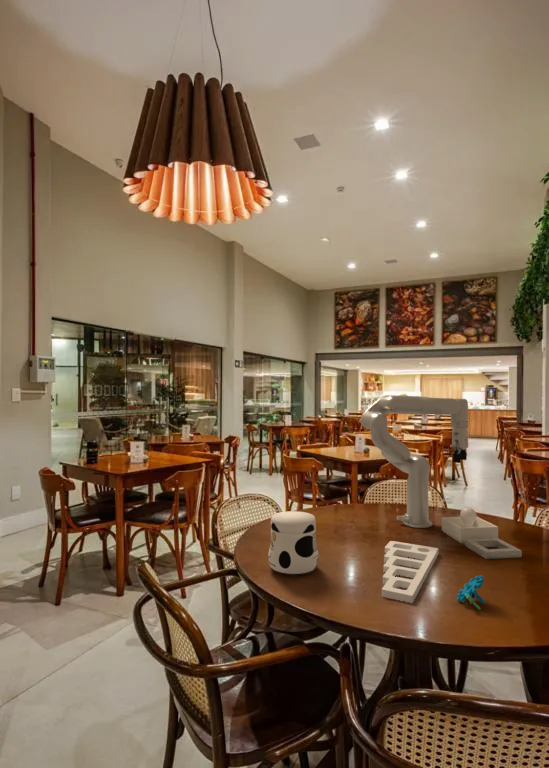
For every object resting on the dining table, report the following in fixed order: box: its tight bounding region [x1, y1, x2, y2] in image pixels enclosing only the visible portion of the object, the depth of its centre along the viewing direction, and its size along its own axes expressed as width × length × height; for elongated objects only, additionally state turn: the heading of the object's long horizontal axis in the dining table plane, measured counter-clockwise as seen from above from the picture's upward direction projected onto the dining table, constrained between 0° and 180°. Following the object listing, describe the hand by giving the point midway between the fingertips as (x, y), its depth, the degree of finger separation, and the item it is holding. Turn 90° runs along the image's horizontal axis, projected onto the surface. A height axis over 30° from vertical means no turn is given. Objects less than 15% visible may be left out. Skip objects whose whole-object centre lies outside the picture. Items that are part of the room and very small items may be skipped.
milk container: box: [267, 510, 320, 576], centre depth 153 cm, size 17×17×18 cm
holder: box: [381, 540, 439, 604], centre depth 152 cm, size 45×18×3 cm, turn 151°
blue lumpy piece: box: [456, 575, 486, 611], centre depth 128 cm, size 11×6×10 cm
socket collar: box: [464, 537, 523, 560], centre depth 170 cm, size 14×14×2 cm
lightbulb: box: [459, 506, 478, 527], centre depth 188 cm, size 6×6×11 cm
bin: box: [441, 516, 499, 544], centre depth 188 cm, size 16×16×6 cm
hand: (459, 461), depth 210 cm, fingers open, 9 cm apart
